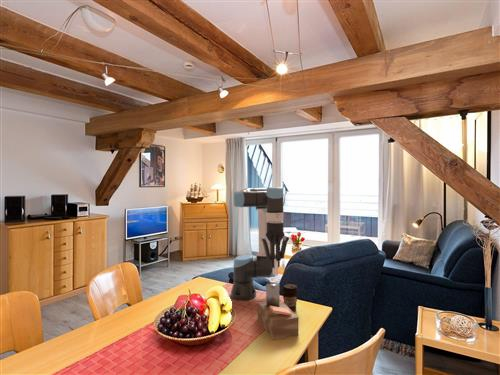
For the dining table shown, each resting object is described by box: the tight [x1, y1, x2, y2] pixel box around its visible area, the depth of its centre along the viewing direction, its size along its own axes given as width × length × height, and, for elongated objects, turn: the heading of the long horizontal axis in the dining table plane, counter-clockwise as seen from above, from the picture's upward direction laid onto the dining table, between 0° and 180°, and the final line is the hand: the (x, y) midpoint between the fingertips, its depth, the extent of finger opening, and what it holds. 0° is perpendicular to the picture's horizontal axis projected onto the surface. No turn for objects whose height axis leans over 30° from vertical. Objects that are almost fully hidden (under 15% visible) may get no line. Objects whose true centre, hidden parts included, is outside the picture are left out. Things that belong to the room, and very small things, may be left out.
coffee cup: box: [281, 283, 299, 313], centre depth 146 cm, size 9×8×13 cm
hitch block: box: [257, 299, 300, 341], centre depth 130 cm, size 20×12×8 cm, turn 17°
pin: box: [265, 281, 281, 307], centre depth 135 cm, size 6×6×15 cm
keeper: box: [269, 306, 292, 316], centre depth 124 cm, size 5×9×1 cm, turn 107°
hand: (275, 274), depth 124 cm, fingers closed
